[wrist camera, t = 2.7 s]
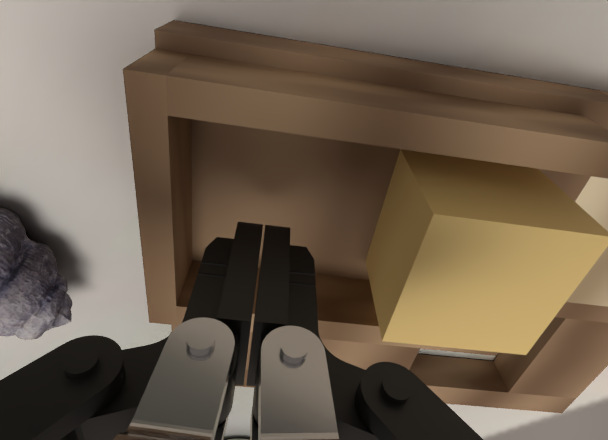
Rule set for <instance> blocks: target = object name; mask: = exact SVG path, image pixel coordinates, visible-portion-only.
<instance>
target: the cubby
mask: <svg viewBox="0 0 608 440" xmlns="http://www.w3.org/2000/svg"><path fill="white" fill-rule="evenodd" d="M123 75H124V84H125V94H126V103H127V113H128V122H129V132H130V141H131V151H132V161H133V170H134V180H135V189H136V199H137V208H138V218H139V227H140V237H141V247H142V256H143V266H144V275H145V285H146V294H147V304H148V314H149V322H151V323H162V324H172V325H180V324H181V323H182V321H183V319H184V316H185V312H186V309H187V306H188V303H189V300H190V296H191V293H192V290H193V287H194V284H195V280H196V277H197V275H198V271H199V268H200V264H201V261H193V253H192V164H191V119H194V120H201V121H208V122H215V123H222V124H229V125H236V126H243V127H250V128H257V129H264V130H271V131H278V132H285V133H292V134H299V135H306V136H313V137H320V138H327V139H334V140H341V141H348V142H355V143H362V144H369V145H376V146H383V147H390V148H397V149H404V150H411V151H418V152H425V153H432V154H439V155H446V156H453V157H460V158H467V159H474V160H481V161H488V162H495V163H502V164H509V165H516V166H523V167H530V168H537V169H544V170H551V171H558V172H565V173H572V174H579V175H586V176H593V177H600V178H607V179H608V130H607V129H605V128H603V127H602V126H600V125H598V124H596V123H595V122H593V121H591V120H589V119H588V118H586V117H584V116H581V115H574V114H568V113H562V112H555V111H549V110H543V109H536V108H530V107H524V106H517V105H511V104H504V103H498V102H492V101H485V100H479V99H473V98H466V97H460V96H454V95H447V94H441V93H435V92H428V91H422V90H416V89H409V88H403V87H397V86H390V85H384V84H378V83H371V82H365V81H359V80H352V79H346V78H339V77H333V76H327V75H320V74H314V73H308V72H301V71H295V70H289V69H282V68H276V67H270V66H263V65H257V64H251V63H244V62H238V61H232V60H225V59H219V58H213V57H206V56H200V55H193V54H187V53H181V52H174V51H168V50H162V49H154V50H152V51H151V52H149V53H148V54H146V55H144V56H143V57H141V58H140V59H138V60H137V61H135V62H133V63H132V64H130V65H129V66H127V67H125V68H124V69H123ZM259 273H260V268H258V272H257V280H256V288H255V297H254V305H253V313H252V321H251V329H250V332H253V324H254V315H255V307H256V298H257V290H258V281H259ZM315 280H316V297H317V315H318V331H319V336H320V339H328V340H339V341H349V342H360V343H370V344H380V345H391V346H401V347H412V348H422V349H433V350H443V351H453V352H464V353H474V354H485V355H495V356H496V355H497V354H498V353H499V352H489V351H479V350H468V349H458V348H448V347H437V346H427V345H417V344H406V343H396V342H386V341H382V339H381V334H380V329H379V324H378V319H377V315H376V310H375V305H374V300H373V296H372V291H371V286H370V281H369V280H363V279H354V278H345V277H336V276H327V275H318V274H315Z"/></svg>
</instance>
